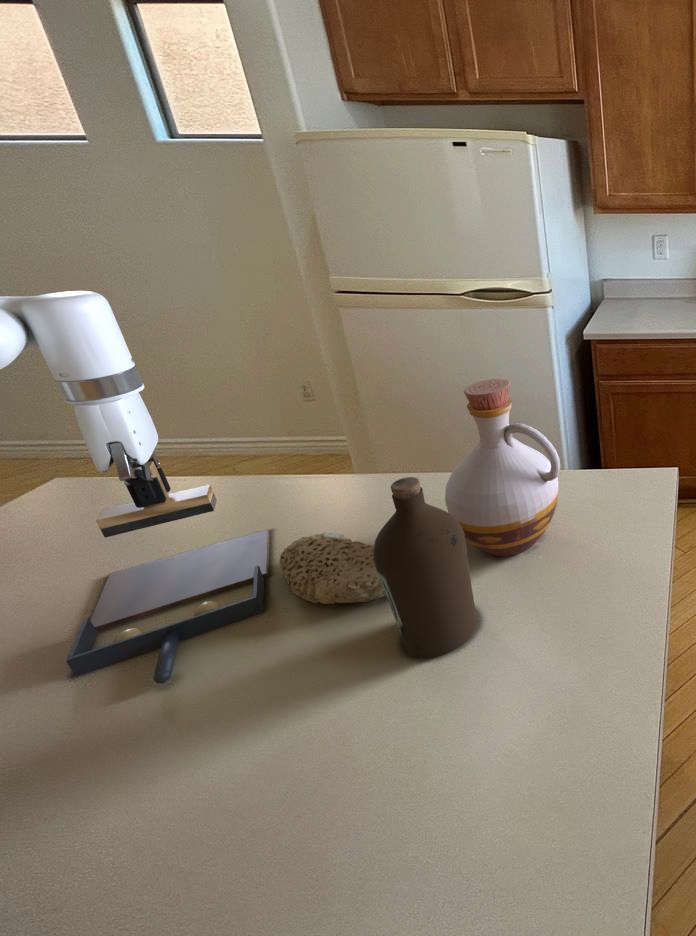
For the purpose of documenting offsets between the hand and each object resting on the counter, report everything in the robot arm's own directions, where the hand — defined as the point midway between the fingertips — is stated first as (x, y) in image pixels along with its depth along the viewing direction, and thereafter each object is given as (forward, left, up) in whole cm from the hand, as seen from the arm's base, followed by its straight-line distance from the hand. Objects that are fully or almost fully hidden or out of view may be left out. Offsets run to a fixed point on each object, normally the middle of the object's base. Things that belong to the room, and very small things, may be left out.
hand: (154, 498), depth 82 cm
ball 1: (-4, -14, -13) cm, 20 cm away
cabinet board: (0, 0, -15) cm, 15 cm away
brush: (0, 0, -4) cm, 4 cm away
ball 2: (+4, -13, -13) cm, 19 cm away
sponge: (+20, -16, -15) cm, 30 cm away
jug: (+45, -21, -15) cm, 52 cm away
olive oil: (+30, -35, -15) cm, 48 cm away
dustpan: (0, -16, -15) cm, 22 cm away
